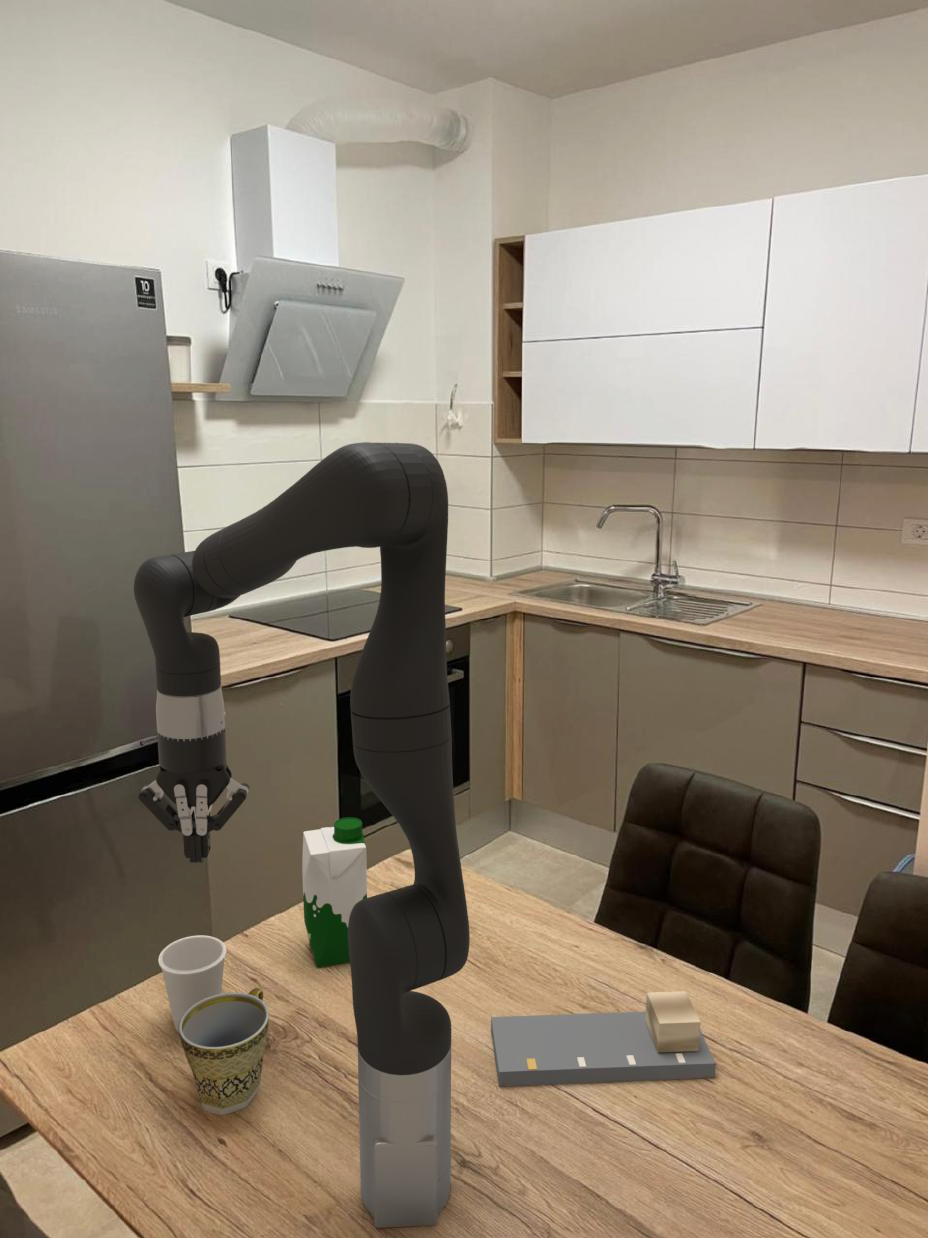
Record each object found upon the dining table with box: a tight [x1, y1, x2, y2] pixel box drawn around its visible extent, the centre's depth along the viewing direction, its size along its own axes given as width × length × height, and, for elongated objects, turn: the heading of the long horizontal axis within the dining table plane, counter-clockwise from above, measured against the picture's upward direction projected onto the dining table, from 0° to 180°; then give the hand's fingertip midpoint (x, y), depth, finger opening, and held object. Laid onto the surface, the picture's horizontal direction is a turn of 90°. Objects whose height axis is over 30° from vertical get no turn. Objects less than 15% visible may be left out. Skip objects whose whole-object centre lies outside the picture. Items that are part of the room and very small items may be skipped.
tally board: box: [490, 1010, 717, 1088], centre depth 115 cm, size 10×26×2 cm, turn 94°
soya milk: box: [301, 816, 368, 969], centre depth 134 cm, size 9×9×20 cm
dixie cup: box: [158, 934, 227, 1033], centre depth 119 cm, size 8×8×10 cm
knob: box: [645, 990, 701, 1052], centre depth 115 cm, size 6×5×4 cm
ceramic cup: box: [178, 987, 270, 1116], centre depth 108 cm, size 13×10×10 cm
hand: (198, 859), depth 111 cm, fingers closed
